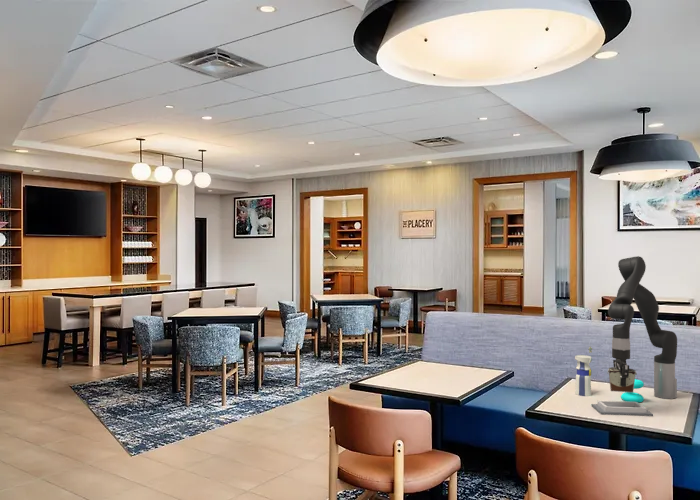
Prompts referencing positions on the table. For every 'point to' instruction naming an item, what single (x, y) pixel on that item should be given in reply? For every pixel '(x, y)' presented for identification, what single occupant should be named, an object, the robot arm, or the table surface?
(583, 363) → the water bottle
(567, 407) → the table surface
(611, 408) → the tray
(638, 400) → the donuts
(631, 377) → the food container
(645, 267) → the robot arm
